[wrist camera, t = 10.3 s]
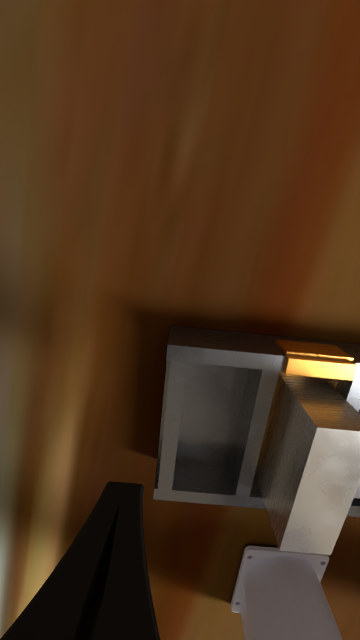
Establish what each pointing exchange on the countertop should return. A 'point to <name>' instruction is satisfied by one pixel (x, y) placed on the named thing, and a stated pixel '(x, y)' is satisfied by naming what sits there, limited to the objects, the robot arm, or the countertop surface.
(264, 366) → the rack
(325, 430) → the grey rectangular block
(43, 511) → the countertop surface
